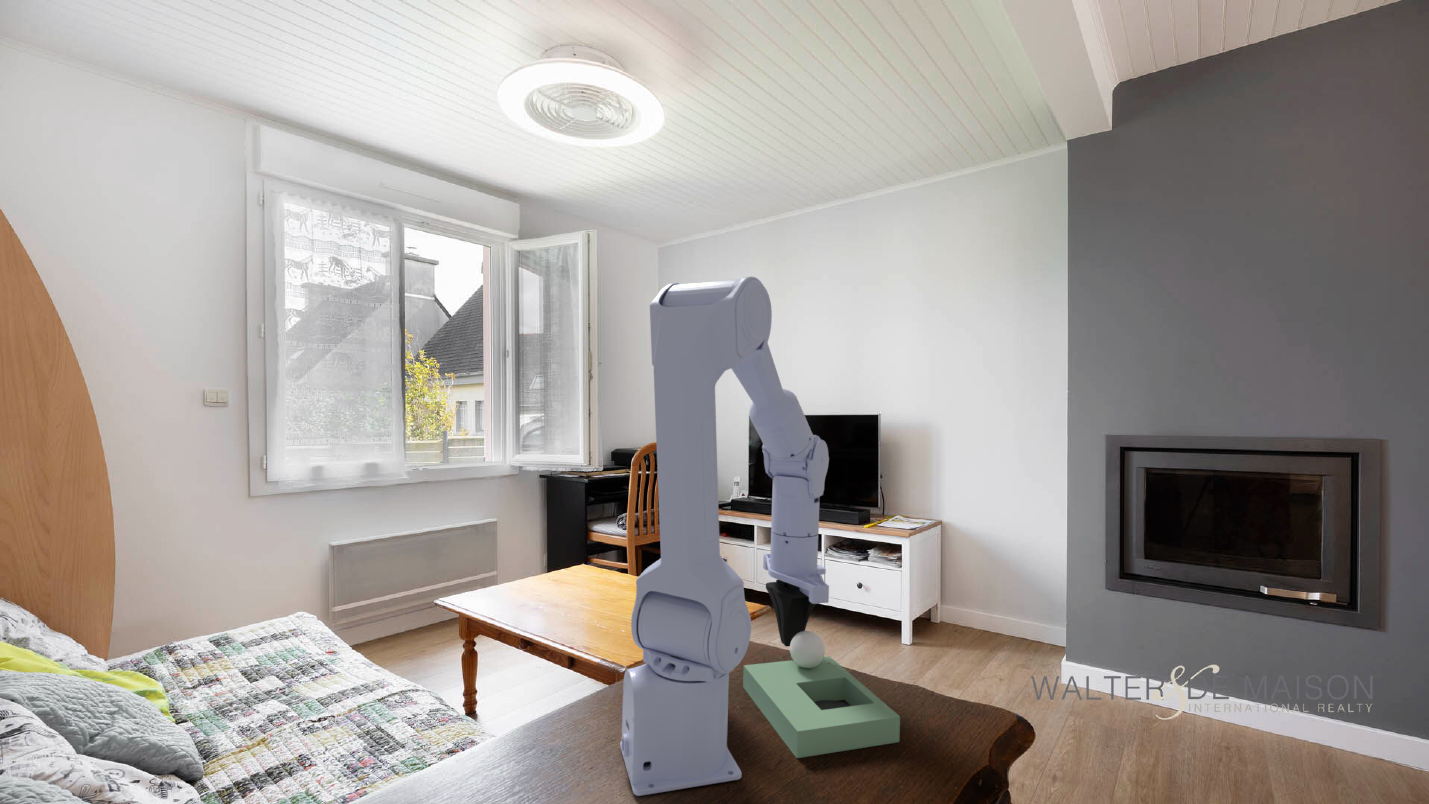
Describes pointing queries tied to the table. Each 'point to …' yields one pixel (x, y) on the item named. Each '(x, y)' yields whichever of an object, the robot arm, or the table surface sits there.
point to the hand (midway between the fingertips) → (791, 643)
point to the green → (819, 707)
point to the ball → (807, 649)
